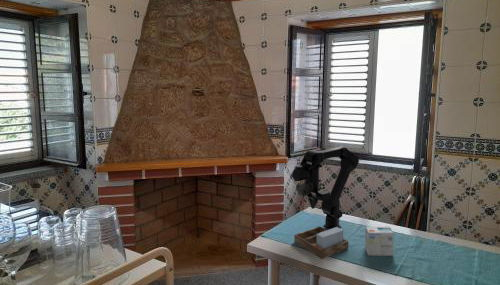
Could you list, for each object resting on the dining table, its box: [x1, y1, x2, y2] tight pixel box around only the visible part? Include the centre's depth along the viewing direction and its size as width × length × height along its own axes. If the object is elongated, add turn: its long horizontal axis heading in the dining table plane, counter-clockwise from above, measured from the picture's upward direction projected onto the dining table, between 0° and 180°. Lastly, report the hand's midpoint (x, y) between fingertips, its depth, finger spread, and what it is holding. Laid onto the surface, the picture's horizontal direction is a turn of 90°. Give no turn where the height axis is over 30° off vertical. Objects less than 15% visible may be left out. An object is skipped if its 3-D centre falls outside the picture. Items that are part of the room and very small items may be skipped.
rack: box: [293, 226, 349, 259], centre depth 162 cm, size 16×19×4 cm
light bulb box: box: [364, 225, 395, 257], centre depth 154 cm, size 11×7×11 cm, turn 84°
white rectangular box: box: [317, 227, 344, 250], centre depth 157 cm, size 12×4×8 cm, turn 121°
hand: (312, 208), depth 172 cm, fingers closed
